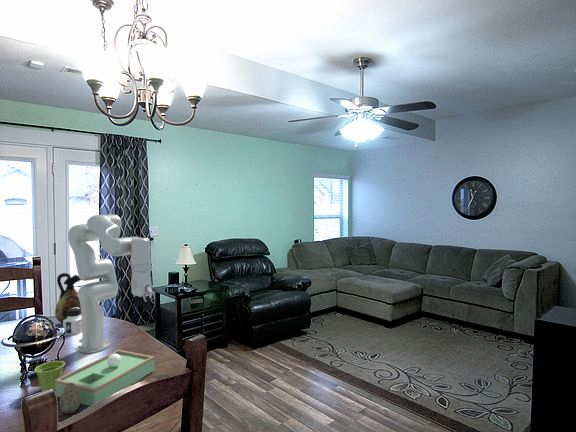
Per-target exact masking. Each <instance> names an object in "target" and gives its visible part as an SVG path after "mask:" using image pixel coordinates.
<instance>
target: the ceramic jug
mask: <svg viewBox="0 0 576 432" xmlns="http://www.w3.org/2000/svg"><path fill="white" fill-rule="evenodd" d="M65 277H66V278H67V279H66V280H64V282H63V283H62V282H61V279H62V278H65ZM81 281H82V280H81V279H80V278H79V275H78V274H75V275H73V276H72V275H70V274H69V273H67V272H62V273H61V274H58V275H57V279H56V282H57V286H58V287H59V290H60V294H59V299H58V301H57V303H56V306H55V308H54V316H55V318H56V320H57V321H58V322H59V323H61V327H63V320H65V319H67V310H68V309H70V308H75V307H78V308H80V309H81V305H80V301H79V297H78V290H76V288H75V286H74V285H75V284H76V283H78V282H81ZM62 284H63V285H66V288H65V289H64V287H63V285H62ZM81 316H82V315H81Z"/></svg>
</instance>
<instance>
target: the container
mask: <svg viewBox="0 0 576 432" xmlns="http://www.w3.org/2000/svg"><path fill="white" fill-rule="evenodd" d="M63 328H64V329H65V330H66V334H65V335H79V334H81V333H82V316H81V309H80V308H78V307H75V308H70V309H68V310H67V319H65V320H63V326H62V329H63Z"/></svg>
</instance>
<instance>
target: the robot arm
mask: <svg viewBox="0 0 576 432" xmlns="http://www.w3.org/2000/svg"><path fill="white" fill-rule="evenodd" d="M122 225H123V224H122V218H120V217H119V215H118V214H113V213H112V214H111V213H110V214H96V215H92V216H90V217H89V218H88V219H87V221H86V223H81V224H75V225H73V226H71V227H70V228H69V230H68V232H67V233H68V234H67V239H68V244H69V245H70V248H71V250H72V252H73V254H74V261H75V265H76V271H77V276H79V278H80V279H81V280H80V281H83V282H84V281H85V282H87V281H94V280H99V279H102V280H100V281H94V282H89V283H86V284H83V285H82V286H80V288H78V290H77V292H78V297H79V301H80V305H81V315H82V332H81V333H82V337H81V339H79V340H78V343H79V344H80V343H81V346H79V348H78V349H79V352H80V353H82V354H93V353H97V352H98V353H99V352H101V351H104V350H106V349H107V348H109V346H110V343H109V341H108V340H107V341H106V327H105V325H106V324H105V310H104V308H103V306H102V305H100V303H99V302H102V301H106V300H109V299H113V298H115V297H116V296H118V292H119V286H118V281H117V275H116V270H115V266H114V264H113V262H112V260H111V259H109V258H99V259H97V257H96V254H95V249H94V248H93V247H92V246H91V245H90V244H89V243H88V242H97V241H100V246H101V249H102V250H103V251H104V252H105V253H106V254H107V255H110V256H112V257H123V256H124V257H125V256H129V255H130V265H131V266H130V267H131V268H130V269H131V280H130V283H131V284H130V285H131V287H130V289H131V290H130V291H131V294H132V296H133V307H135V308H137V307H142V306H143V312H149V311H152V310H153V294H154V292H153V286H152V285H153V283H152V277H151V271H152V262H151V241H150V238H147V237H140V236H129V237H126V236H125V237H120V235H121V228H122Z"/></svg>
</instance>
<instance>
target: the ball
mask: <svg viewBox="0 0 576 432" xmlns="http://www.w3.org/2000/svg"><path fill="white" fill-rule="evenodd" d="M120 362H121V357H120V355H118V354H112V355H110V356H109V357H108V359H107V364H108V365H109V366H110V367H116V366H118V365H119V364H120Z"/></svg>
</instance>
